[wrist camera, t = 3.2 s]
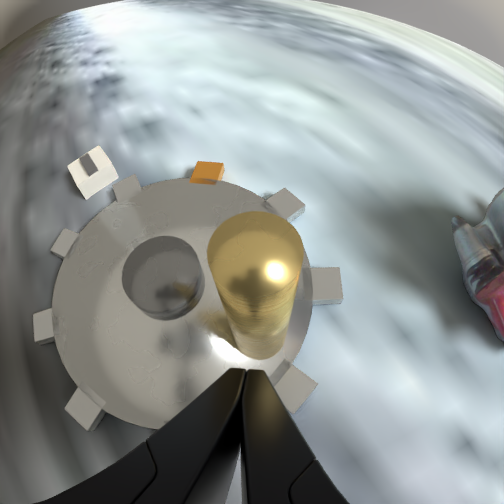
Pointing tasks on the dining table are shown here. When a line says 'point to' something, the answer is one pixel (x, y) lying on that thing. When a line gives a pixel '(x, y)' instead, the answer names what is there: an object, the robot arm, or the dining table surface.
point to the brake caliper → (484, 260)
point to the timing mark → (92, 172)
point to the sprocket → (182, 297)
